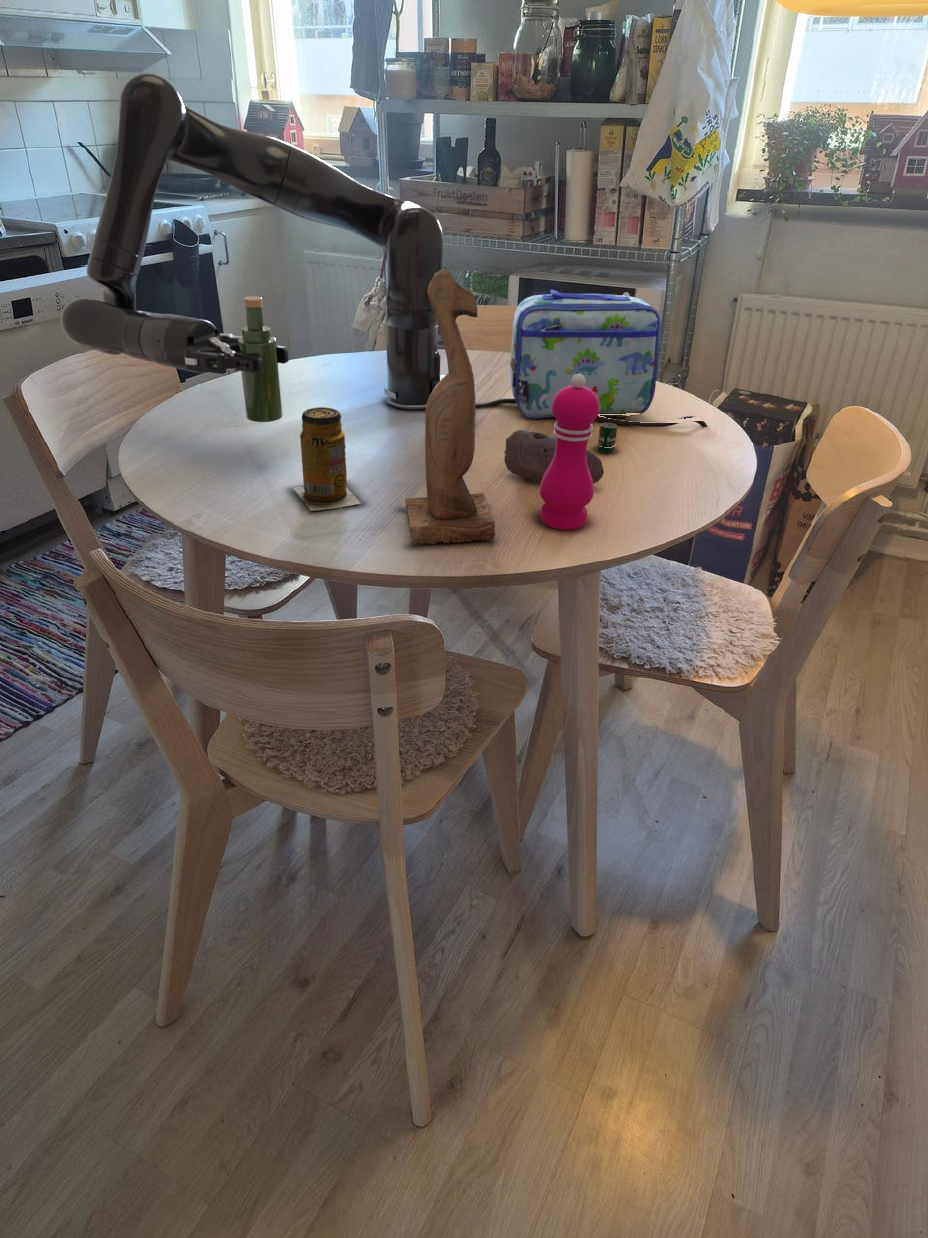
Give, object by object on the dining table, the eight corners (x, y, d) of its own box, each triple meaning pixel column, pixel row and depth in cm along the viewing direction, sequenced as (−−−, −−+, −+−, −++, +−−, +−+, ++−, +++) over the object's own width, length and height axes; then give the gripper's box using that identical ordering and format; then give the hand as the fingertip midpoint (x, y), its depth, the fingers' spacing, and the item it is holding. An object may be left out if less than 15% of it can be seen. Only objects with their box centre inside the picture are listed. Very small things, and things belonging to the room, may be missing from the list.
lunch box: (508, 420, 147) (516, 297, 135) (504, 401, 156) (511, 284, 144) (652, 424, 148) (672, 302, 136) (640, 405, 157) (658, 289, 145)
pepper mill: (533, 509, 115) (545, 365, 105) (583, 508, 116) (601, 366, 105) (541, 532, 109) (555, 382, 99) (594, 531, 110) (614, 383, 99)
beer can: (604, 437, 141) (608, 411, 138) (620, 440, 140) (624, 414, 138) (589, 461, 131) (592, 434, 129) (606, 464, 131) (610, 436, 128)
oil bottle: (281, 409, 123) (271, 293, 114) (283, 421, 119) (273, 301, 110) (246, 411, 122) (232, 294, 113) (246, 423, 118) (233, 302, 109)
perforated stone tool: (605, 484, 124) (611, 440, 120) (596, 497, 119) (602, 452, 116) (512, 466, 128) (515, 423, 125) (500, 478, 124) (503, 434, 121)
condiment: (341, 482, 121) (337, 402, 115) (361, 504, 115) (358, 421, 108) (293, 489, 118) (286, 407, 112) (310, 512, 112) (304, 427, 105)
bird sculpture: (500, 541, 107) (517, 279, 89) (411, 547, 104) (411, 279, 87) (481, 505, 116) (493, 261, 99) (399, 510, 113) (396, 261, 96)
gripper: (139, 326, 113) (237, 344, 107) (210, 306, 124) (302, 322, 118) (149, 380, 117) (243, 400, 111) (216, 357, 128) (306, 374, 122)
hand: (273, 360), depth 115 cm, fingers closed on oil bottle, 5 cm apart
